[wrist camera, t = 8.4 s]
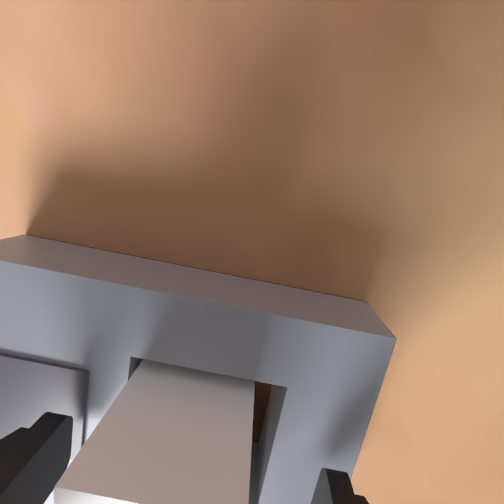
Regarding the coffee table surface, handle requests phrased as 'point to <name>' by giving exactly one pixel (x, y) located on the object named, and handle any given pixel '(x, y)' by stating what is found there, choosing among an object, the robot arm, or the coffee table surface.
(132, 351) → the outlet
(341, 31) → the coffee table surface
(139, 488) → the block
